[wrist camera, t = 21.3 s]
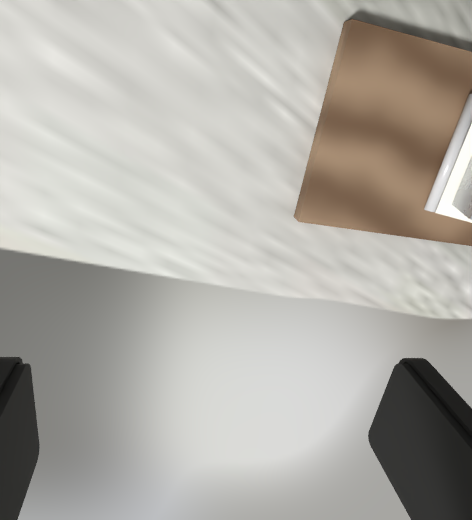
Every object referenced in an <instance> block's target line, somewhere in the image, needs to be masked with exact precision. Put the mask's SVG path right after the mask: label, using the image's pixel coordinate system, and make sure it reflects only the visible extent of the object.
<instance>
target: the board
mask: <svg viewBox="0 0 472 520" xmlns="http://www.w3.org/2000/svg"><path fill="white" fill-rule="evenodd" d="M469 94H472V52H470V51H467V50H463V49H459V48H456V47H452V46H449V45H445V44H441V43H438V42H434V41H430V40H427V39H423V38H420V37H416V36H412V35H409V34H405V33H402V32H398V31H394V30H391V29H387V28H383V27H380V26H376V25H373V24H369V23H365V22H362V21H358V20H354V19H351V20H348V21H346V22H344V24H343V28H342V32H341V36H340V40H339V44H338V48H337V52H336V55H335V59H334V63H333V67H332V71H331V75H330V79H329V82H328V86H327V90H326V94H325V98H324V102H323V106H322V110H321V113H320V117H319V121H318V125H317V129H316V133H315V137H314V141H313V144H312V148H311V152H310V156H309V160H308V164H307V168H306V172H305V175H304V179H303V183H302V187H301V191H300V195H299V199H298V202H297V206H296V210H295V214H294V217H295V218H296V219H297V221H298V222H304V223H311V224H318V225H325V226H332V227H340V228H347V229H354V230H361V231H368V232H375V233H383V234H390V235H397V236H404V237H411V238H418V239H426V240H433V241H440V242H447V243H454V244H462V245H469V246H472V223H471V222H467V221H463V220H460V219H456V218H452V217H449V216H445V215H441V214H438V213H435V212H430V211H427V210H424V207H425V205H426V202H427V200H428V197H429V195H430V192H431V190H432V187H433V185H434V182H435V179H436V177H437V174H438V172H439V169H440V167H441V164H442V162H443V159H444V157H445V154H446V151H447V149H448V146H449V144H450V141H451V139H452V136H453V134H454V131H455V129H456V126H457V123H458V121H459V118H460V116H461V113H462V111H463V108H464V106H465V103H466V100H467V98H468V95H469Z"/></svg>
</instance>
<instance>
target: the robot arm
mask: <svg viewBox="0 0 472 520" xmlns="http://www.w3.org/2000/svg"><path fill="white" fill-rule="evenodd" d="M368 437H369V442H370V445H371V447H372V449H373V451H374V453H375V455H376V456H377V458H378V460H379V462H380V464H381V465H382V467H383V469H384V471H385V473H386V475H387V477H388V478H389V480H390V482H391V484H392V486H393V487H394V489H395V491H396V493H397V495H398V497H399V498H400V500H401V502H402V504H403V505H404V507H405V509H406V511H407V513H408V515H409V516H410V518H411V520H472V409H471V407H470V406H469V405H468V404H467V403H466V402H465V401H464V400H463V399H462V398H461V397H460V396H459V394H458V393H457V392H456V391H455V390H454V389H453V388H452V387H451V386H450V385H449V384H448V382H447V381H446V380H445V379H444V378H443V377H442V376H441V375H440V374H439V373H438V371H437V370H436V369H435V368H434V367H433V366H432V365H431V364H430V363H429V362H428V361H427V360H426V359H423V358H404V359H402V360H400V362H399V364H396V365H395V367H394V369H393V372H392V374H391V377H390V379H389V382H388V384H387V387H386V389H385V392H384V394H383V397H382V400H381V402H380V405H379V407H378V410H377V412H376V415H375V417H374V420H373V423H372V425H371V428H370V430H369V435H368ZM38 455H39V439H38V429H37V420H36V411H35V402H34V393H33V384H32V375H31V367H30V365H29V364H23V363H22V359H21V358H19V357H0V520H17V519H18V516H19V513H20V510H21V507H22V504H23V501H24V498H25V496H26V493H27V490H28V487H29V484H30V481H31V478H32V475H33V472H34V469H35V466H36V463H37V460H38Z"/></svg>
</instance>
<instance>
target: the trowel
mask: <svg viewBox="0 0 472 520" xmlns="http://www.w3.org/2000/svg"><path fill="white" fill-rule="evenodd" d="M452 205H453V206H454V207H455V208H457V209H458V210H459V211H460V212H461V213H463V214H464V215H465V216H466V217H467V218H469V219H470V220H472V157H471V160H470V162H469V164H468V167H467V169H466V172H465V174H464V176H463V179H462V181H461V184H460V186H459V188H458V191H457V193H456V195H455V198H454V200H453V203H452Z"/></svg>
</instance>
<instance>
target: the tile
mask: <svg viewBox="0 0 472 520" xmlns="http://www.w3.org/2000/svg"><path fill="white" fill-rule="evenodd" d="M471 157H472V94H469V95H468V98H467V100H466V103H465V106H464V108H463V111H462V113H461V116H460V118H459V121H458V123H457V126H456V129H455V131H454V134H453V136H452V139H451V141H450V144H449V146H448V149H447V151H446V154H445V157H444V159H443V162H442V164H441V167H440V169H439V172H438V174H437V177H436V179H435V182H434V185H433V187H432V190H431V192H430V195H429V197H428V200H427V202H426V205H425V207H424V210H427V211H430V212H435V213H438V214H441V215H445V216H449V217H452V218H456V219H460V220H463V221H467V222H471V223H472V220H470V219H469V218H467V217H466V216H465V215H464V214H463V213H461V212H460V211H459V210H458V209H457V208H455V207H454V206H453V205H452V203H453V200H454V198H455V195H456V193H457V191H458V188H459V186H460V184H461V181H462V179H463V176H464V174H465V172H466V169H467V167H468V164H469V162H470V160H471Z"/></svg>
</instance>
